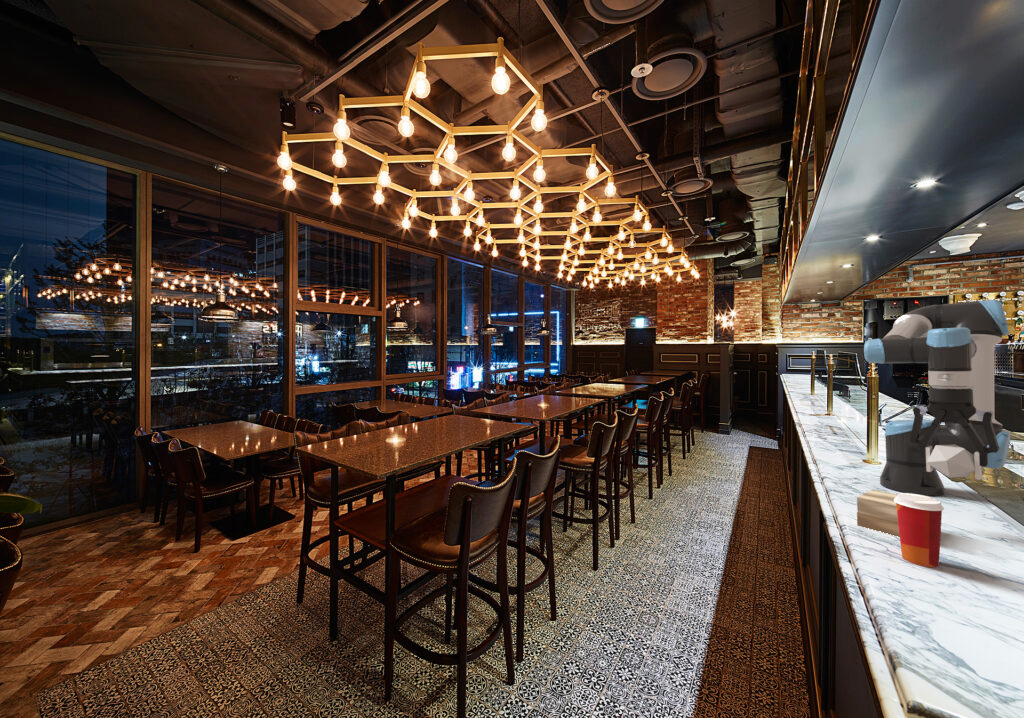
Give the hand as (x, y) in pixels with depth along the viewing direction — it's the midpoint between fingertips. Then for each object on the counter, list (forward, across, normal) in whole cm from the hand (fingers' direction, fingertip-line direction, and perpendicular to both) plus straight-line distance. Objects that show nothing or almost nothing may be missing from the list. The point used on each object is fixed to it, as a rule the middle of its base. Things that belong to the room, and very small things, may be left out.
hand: (953, 474), depth 99 cm
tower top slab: (+11, -9, -11) cm, 18 cm away
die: (0, 0, 0) cm, 0 cm away
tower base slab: (+15, -9, -11) cm, 21 cm away
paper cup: (+14, -1, -29) cm, 32 cm away
